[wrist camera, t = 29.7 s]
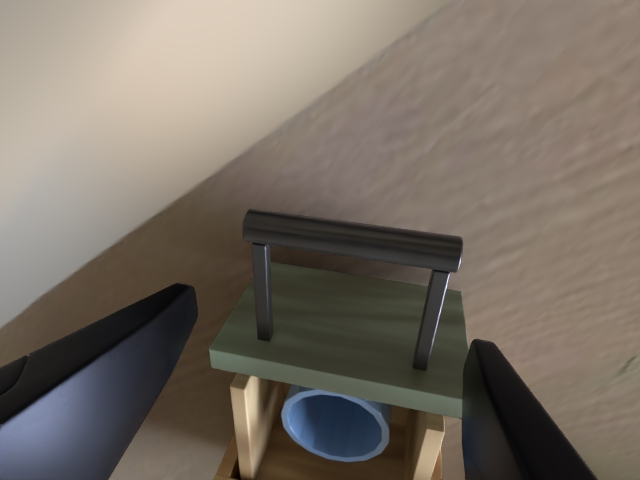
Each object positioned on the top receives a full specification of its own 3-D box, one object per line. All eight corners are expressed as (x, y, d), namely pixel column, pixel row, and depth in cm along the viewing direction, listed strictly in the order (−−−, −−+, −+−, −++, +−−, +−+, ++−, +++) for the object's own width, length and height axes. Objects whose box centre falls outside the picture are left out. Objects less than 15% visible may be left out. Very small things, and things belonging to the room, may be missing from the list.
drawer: (258, 155, 21) (188, 220, 15) (491, 181, 19) (522, 268, 13) (268, 390, 30) (228, 490, 24) (426, 423, 28) (426, 541, 22)
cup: (288, 332, 25) (261, 399, 21) (372, 311, 23) (360, 381, 19) (329, 393, 27) (312, 466, 23) (409, 379, 25) (406, 456, 21)
